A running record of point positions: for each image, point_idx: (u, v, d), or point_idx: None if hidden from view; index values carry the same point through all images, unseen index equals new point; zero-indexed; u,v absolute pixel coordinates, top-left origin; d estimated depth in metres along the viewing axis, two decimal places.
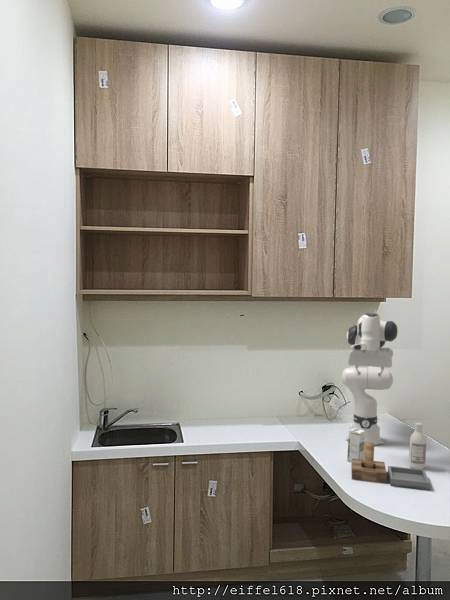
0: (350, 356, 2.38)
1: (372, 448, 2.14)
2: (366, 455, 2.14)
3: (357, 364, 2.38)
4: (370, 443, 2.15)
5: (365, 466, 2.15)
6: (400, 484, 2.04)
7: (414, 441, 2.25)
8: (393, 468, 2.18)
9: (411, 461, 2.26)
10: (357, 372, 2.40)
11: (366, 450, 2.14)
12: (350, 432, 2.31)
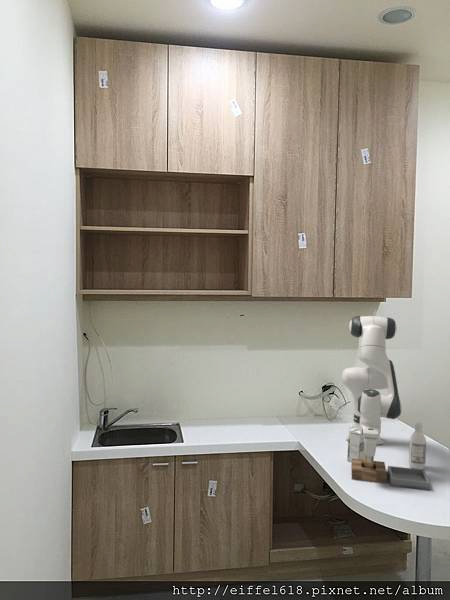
0: None
1: None
2: None
3: None
4: None
5: (365, 466, 2.15)
6: (400, 484, 2.04)
7: (414, 441, 2.25)
8: (393, 468, 2.18)
9: (411, 461, 2.26)
10: (367, 459, 2.13)
11: None
12: (350, 432, 2.31)
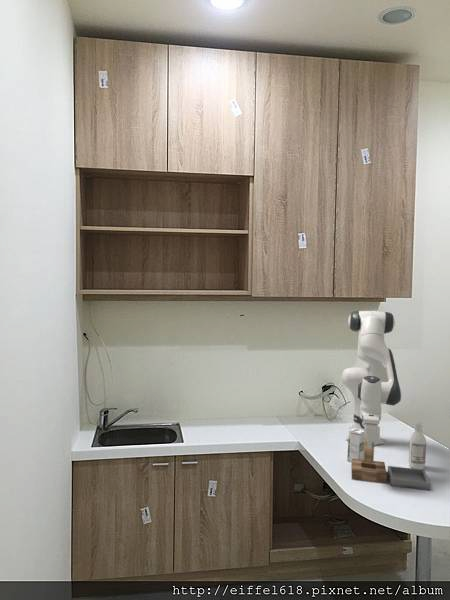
0: (376, 432, 2.06)
1: None
2: (366, 441, 2.14)
3: None
4: None
5: (365, 452, 2.15)
6: (400, 484, 2.04)
7: (414, 441, 2.25)
8: (393, 468, 2.18)
9: (411, 461, 2.26)
10: (368, 445, 2.13)
11: None
12: (350, 432, 2.31)
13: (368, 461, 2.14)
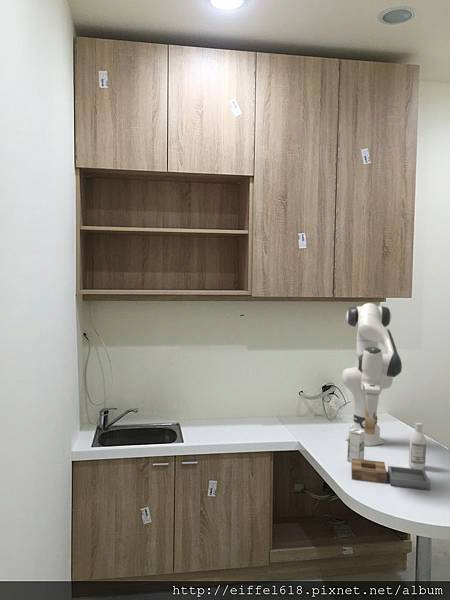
0: (377, 402, 2.06)
1: None
2: (368, 413, 2.14)
3: None
4: None
5: (367, 424, 2.14)
6: (400, 484, 2.04)
7: (414, 441, 2.25)
8: (393, 468, 2.18)
9: (411, 461, 2.26)
10: (369, 416, 2.12)
11: None
12: (350, 432, 2.31)
13: (369, 432, 2.13)
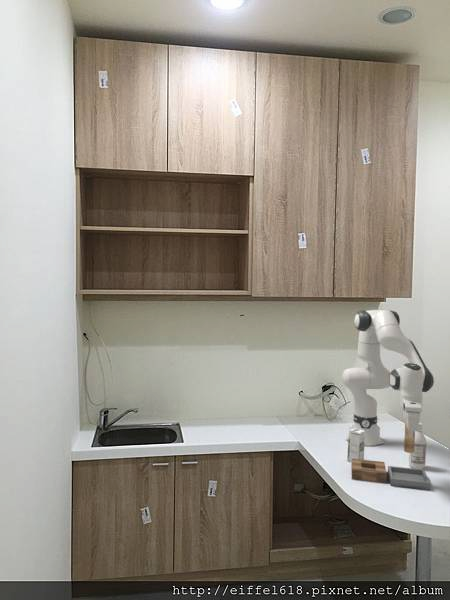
0: None
1: None
2: (407, 430, 2.08)
3: None
4: None
5: (406, 442, 2.09)
6: (400, 484, 2.04)
7: None
8: (393, 468, 2.18)
9: (411, 461, 2.26)
10: (409, 434, 2.06)
11: None
12: (350, 432, 2.31)
13: (409, 451, 2.08)
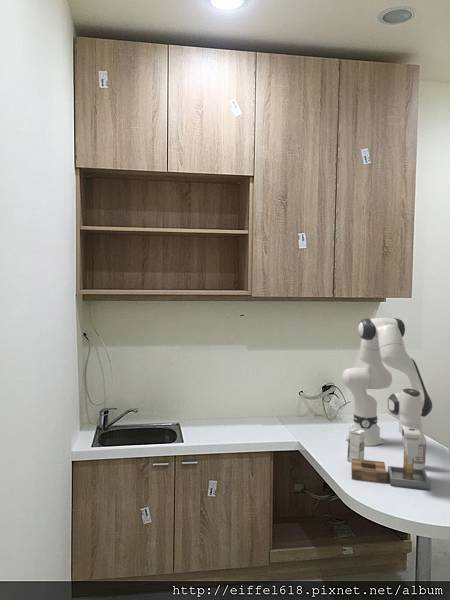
0: None
1: None
2: (406, 458, 2.09)
3: None
4: None
5: (405, 470, 2.09)
6: (400, 484, 2.04)
7: None
8: (393, 468, 2.18)
9: None
10: (408, 461, 2.06)
11: None
12: (350, 432, 2.31)
13: (408, 479, 2.08)
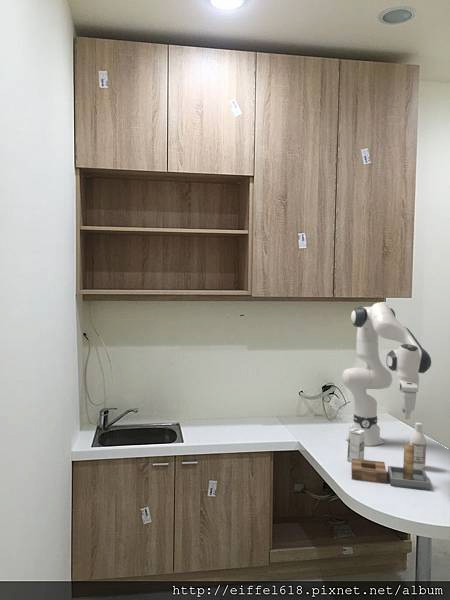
0: None
1: (412, 451, 2.08)
2: (406, 458, 2.09)
3: None
4: (410, 446, 2.09)
5: (405, 470, 2.09)
6: (400, 484, 2.04)
7: (414, 441, 2.25)
8: (393, 468, 2.18)
9: None
10: (406, 416, 2.06)
11: (406, 453, 2.09)
12: (350, 432, 2.31)
13: (408, 479, 2.08)
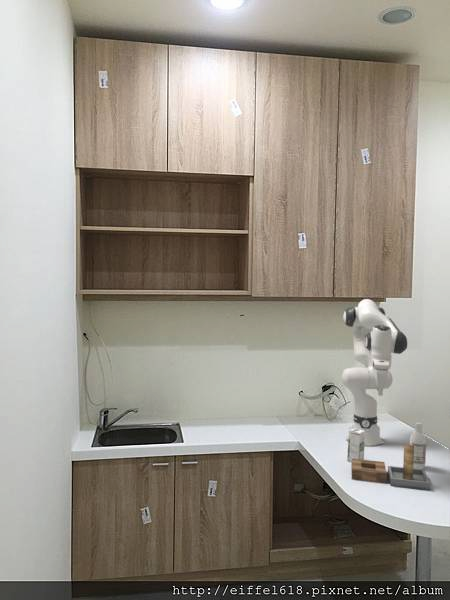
0: (387, 377, 2.13)
1: (412, 451, 2.08)
2: (406, 458, 2.09)
3: None
4: (410, 446, 2.09)
5: (405, 470, 2.09)
6: (400, 484, 2.04)
7: (414, 441, 2.25)
8: (393, 468, 2.18)
9: None
10: (379, 392, 2.17)
11: (406, 453, 2.09)
12: (350, 432, 2.31)
13: (408, 479, 2.08)
